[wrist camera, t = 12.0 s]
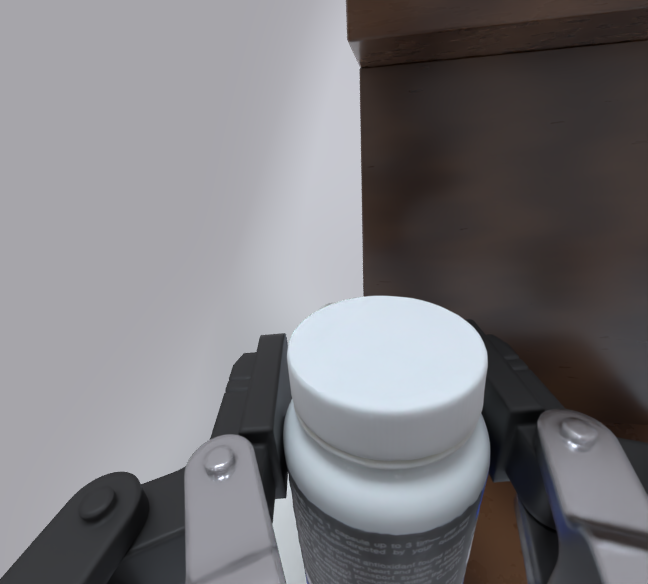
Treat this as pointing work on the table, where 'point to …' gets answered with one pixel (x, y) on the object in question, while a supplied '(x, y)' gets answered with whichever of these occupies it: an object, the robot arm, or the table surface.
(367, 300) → the pill bottle
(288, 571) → the table surface
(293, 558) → the table surface
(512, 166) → the shelf
